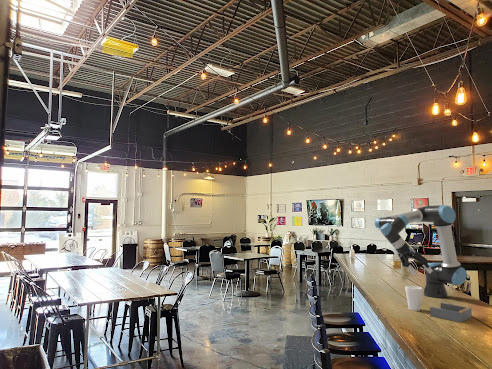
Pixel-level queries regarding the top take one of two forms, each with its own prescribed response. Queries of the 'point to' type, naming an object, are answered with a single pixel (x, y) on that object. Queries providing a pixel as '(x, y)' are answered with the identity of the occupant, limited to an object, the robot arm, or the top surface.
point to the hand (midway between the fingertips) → (423, 273)
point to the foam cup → (413, 297)
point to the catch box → (451, 312)
